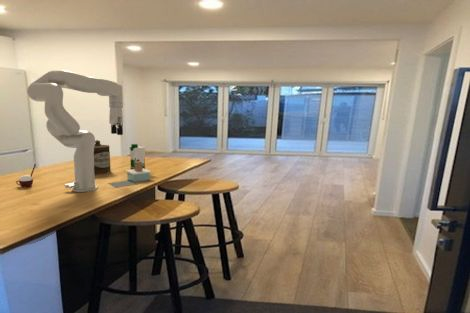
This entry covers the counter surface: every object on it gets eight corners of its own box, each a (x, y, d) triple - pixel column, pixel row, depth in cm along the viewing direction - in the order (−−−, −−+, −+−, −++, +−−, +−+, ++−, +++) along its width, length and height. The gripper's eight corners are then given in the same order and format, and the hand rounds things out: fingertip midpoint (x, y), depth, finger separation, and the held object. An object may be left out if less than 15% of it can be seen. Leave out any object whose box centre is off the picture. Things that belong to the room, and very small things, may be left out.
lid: (132, 174, 177) (132, 164, 176) (125, 171, 185) (124, 161, 184) (151, 172, 184) (151, 162, 184) (143, 169, 193) (143, 159, 192)
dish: (134, 182, 179) (133, 174, 178) (127, 179, 186) (127, 171, 185) (149, 180, 185) (149, 172, 185) (142, 177, 193) (142, 169, 192)
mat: (115, 188, 164) (115, 187, 164) (107, 183, 174) (107, 183, 174) (138, 185, 173) (138, 184, 173) (129, 180, 182) (129, 180, 182)
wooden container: (96, 175, 195) (94, 141, 192) (82, 172, 202) (80, 140, 199) (115, 171, 208) (114, 140, 205) (101, 169, 215) (100, 138, 212)
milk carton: (128, 173, 205) (127, 144, 202) (140, 171, 211) (140, 143, 208) (135, 175, 199) (134, 145, 196) (147, 173, 205) (146, 144, 202)
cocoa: (15, 188, 161) (11, 166, 159) (22, 184, 167) (19, 164, 165) (33, 187, 162) (30, 166, 159) (40, 184, 168) (37, 163, 165)
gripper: (104, 105, 181) (105, 133, 184) (114, 105, 169) (115, 135, 171) (117, 105, 186) (117, 133, 189) (127, 105, 174) (128, 135, 176)
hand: (116, 134), depth 180 cm, fingers open, 9 cm apart
